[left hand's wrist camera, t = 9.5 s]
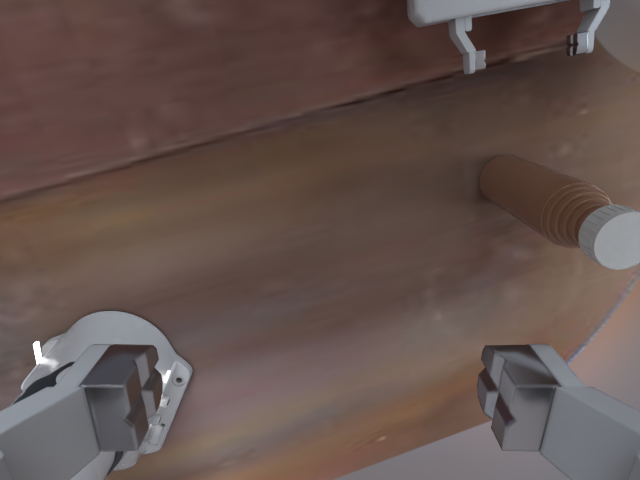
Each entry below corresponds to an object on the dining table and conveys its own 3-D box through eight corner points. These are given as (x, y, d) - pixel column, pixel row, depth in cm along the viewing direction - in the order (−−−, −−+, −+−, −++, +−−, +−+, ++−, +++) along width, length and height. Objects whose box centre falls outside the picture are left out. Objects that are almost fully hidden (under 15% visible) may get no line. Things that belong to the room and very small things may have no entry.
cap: (583, 268, 32) (599, 279, 30) (571, 217, 31) (587, 225, 29) (641, 246, 32) (661, 257, 30) (632, 194, 30) (652, 201, 28)
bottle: (486, 209, 50) (589, 286, 31) (473, 166, 48) (574, 219, 29) (532, 191, 49) (666, 258, 30) (521, 146, 47) (656, 188, 28)
